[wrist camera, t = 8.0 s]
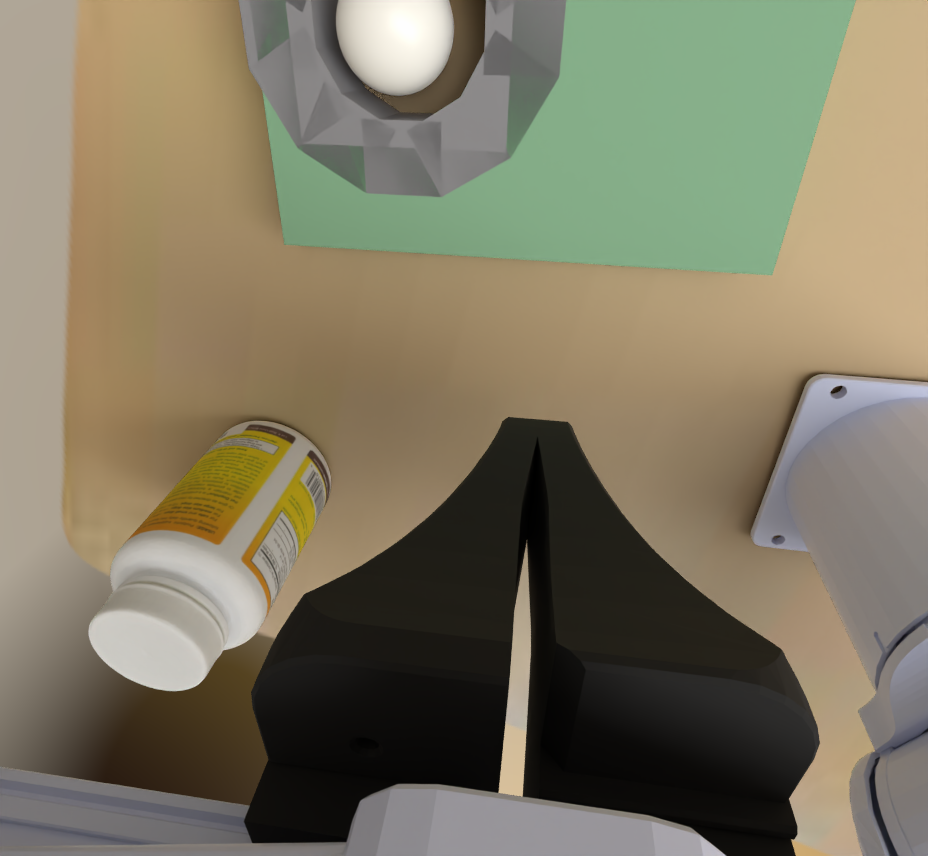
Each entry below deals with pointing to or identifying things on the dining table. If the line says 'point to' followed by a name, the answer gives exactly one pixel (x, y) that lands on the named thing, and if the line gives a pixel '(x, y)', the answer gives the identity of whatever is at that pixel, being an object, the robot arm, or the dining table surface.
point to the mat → (559, 133)
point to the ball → (395, 42)
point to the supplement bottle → (211, 556)
